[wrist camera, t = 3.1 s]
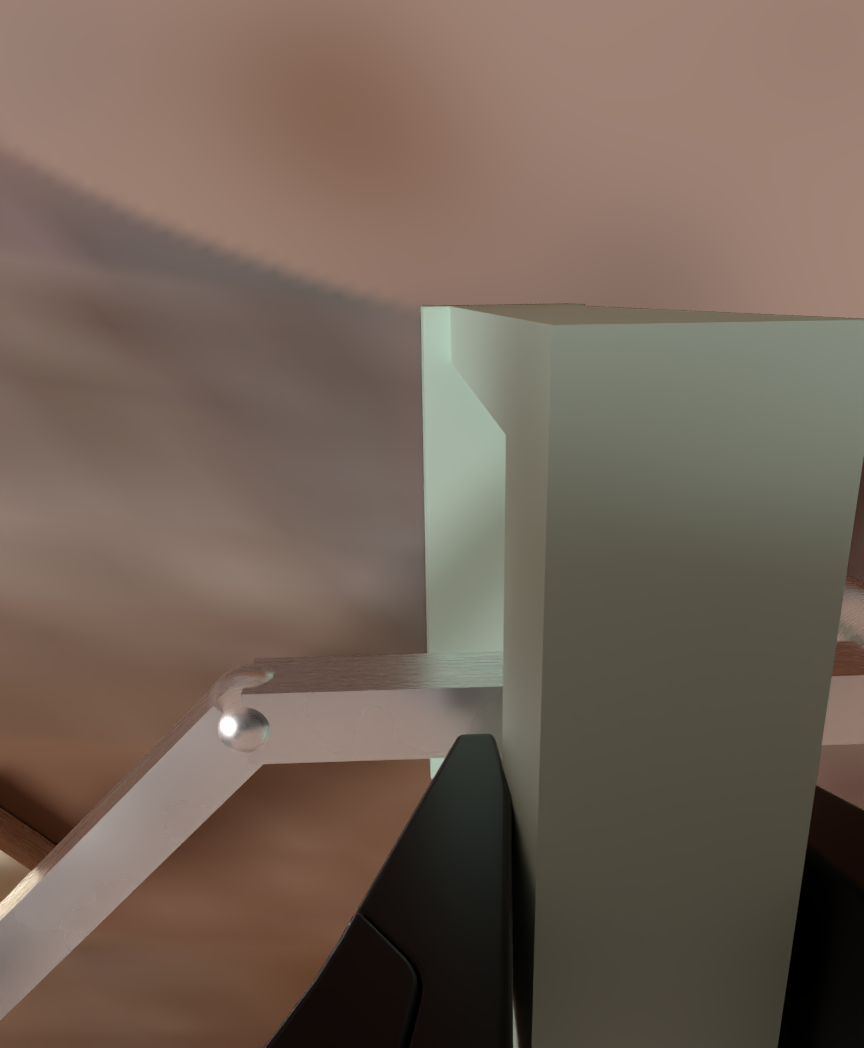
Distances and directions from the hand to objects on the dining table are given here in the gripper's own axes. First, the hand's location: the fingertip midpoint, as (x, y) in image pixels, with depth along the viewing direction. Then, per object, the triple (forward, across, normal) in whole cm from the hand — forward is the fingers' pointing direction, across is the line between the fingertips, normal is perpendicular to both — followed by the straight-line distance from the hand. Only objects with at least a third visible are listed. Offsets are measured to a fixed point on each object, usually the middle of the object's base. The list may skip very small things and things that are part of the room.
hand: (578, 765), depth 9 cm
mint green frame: (+8, 0, 0) cm, 8 cm away
